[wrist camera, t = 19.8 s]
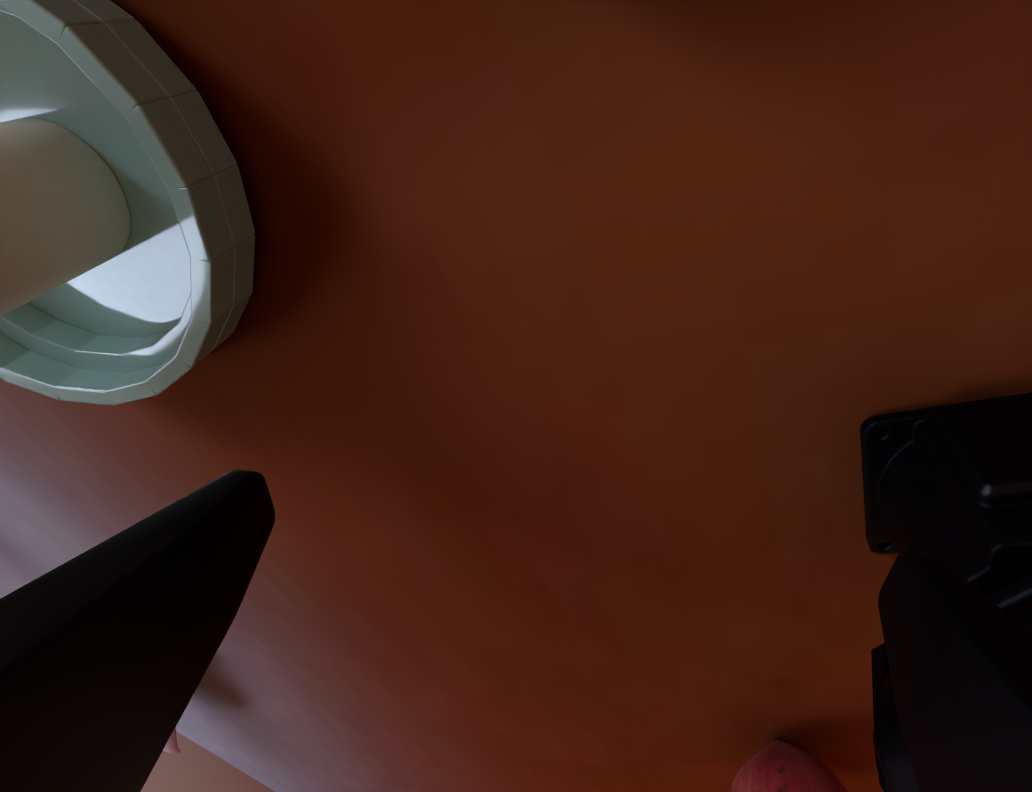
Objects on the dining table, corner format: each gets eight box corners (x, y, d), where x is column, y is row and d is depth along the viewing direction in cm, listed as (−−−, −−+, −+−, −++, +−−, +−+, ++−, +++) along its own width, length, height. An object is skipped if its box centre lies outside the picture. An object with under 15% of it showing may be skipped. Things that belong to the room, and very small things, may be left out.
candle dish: (332, 321, 23) (292, 364, 21) (66, 388, 28) (5, 431, 25) (78, -157, 16) (-32, -184, 14) (-222, 40, 21) (-347, 48, 18)
